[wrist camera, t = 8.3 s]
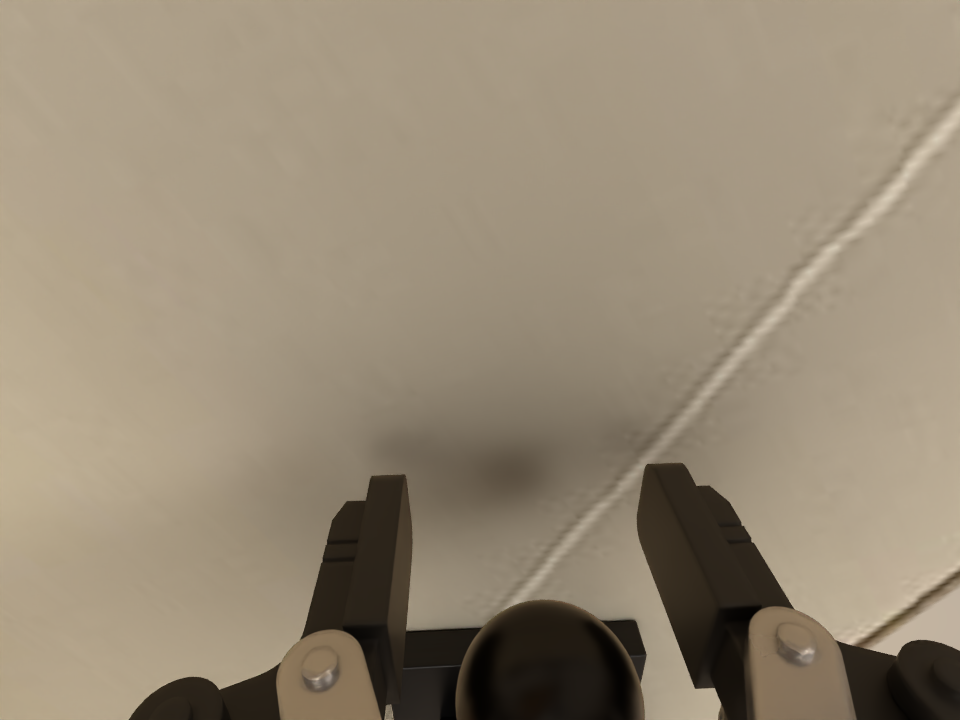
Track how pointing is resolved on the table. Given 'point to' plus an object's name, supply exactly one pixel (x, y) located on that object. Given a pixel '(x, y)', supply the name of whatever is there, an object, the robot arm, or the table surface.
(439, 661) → the bracket
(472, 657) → the lever
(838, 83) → the table surface
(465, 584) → the table surface
